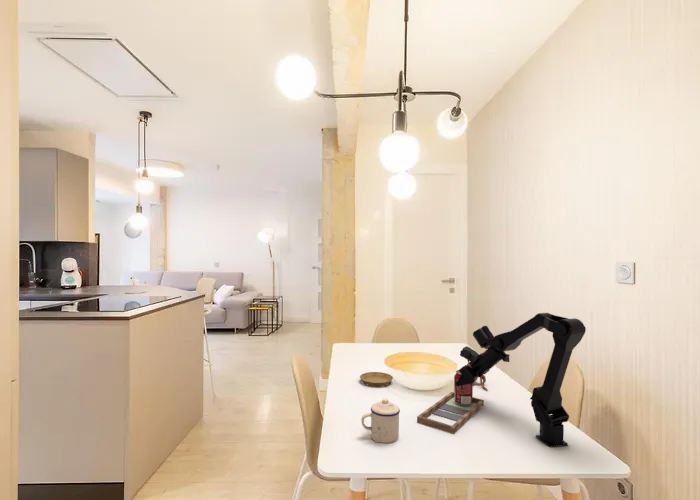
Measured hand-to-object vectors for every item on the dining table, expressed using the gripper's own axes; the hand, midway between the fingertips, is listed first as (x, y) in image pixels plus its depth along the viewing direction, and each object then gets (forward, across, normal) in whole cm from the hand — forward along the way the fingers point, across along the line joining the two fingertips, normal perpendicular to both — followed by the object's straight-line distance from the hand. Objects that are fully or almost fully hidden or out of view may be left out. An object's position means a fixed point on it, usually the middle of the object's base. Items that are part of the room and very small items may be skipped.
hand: (459, 382), depth 144 cm
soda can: (+5, 0, +6) cm, 8 cm away
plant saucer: (+33, 0, -21) cm, 39 cm away
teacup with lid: (+13, +42, -1) cm, 44 cm away
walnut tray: (+5, +10, +7) cm, 13 cm away
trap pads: (+5, +10, +7) cm, 13 cm away
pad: (+5, 0, +7) cm, 8 cm away
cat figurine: (+8, -27, +4) cm, 29 cm away
